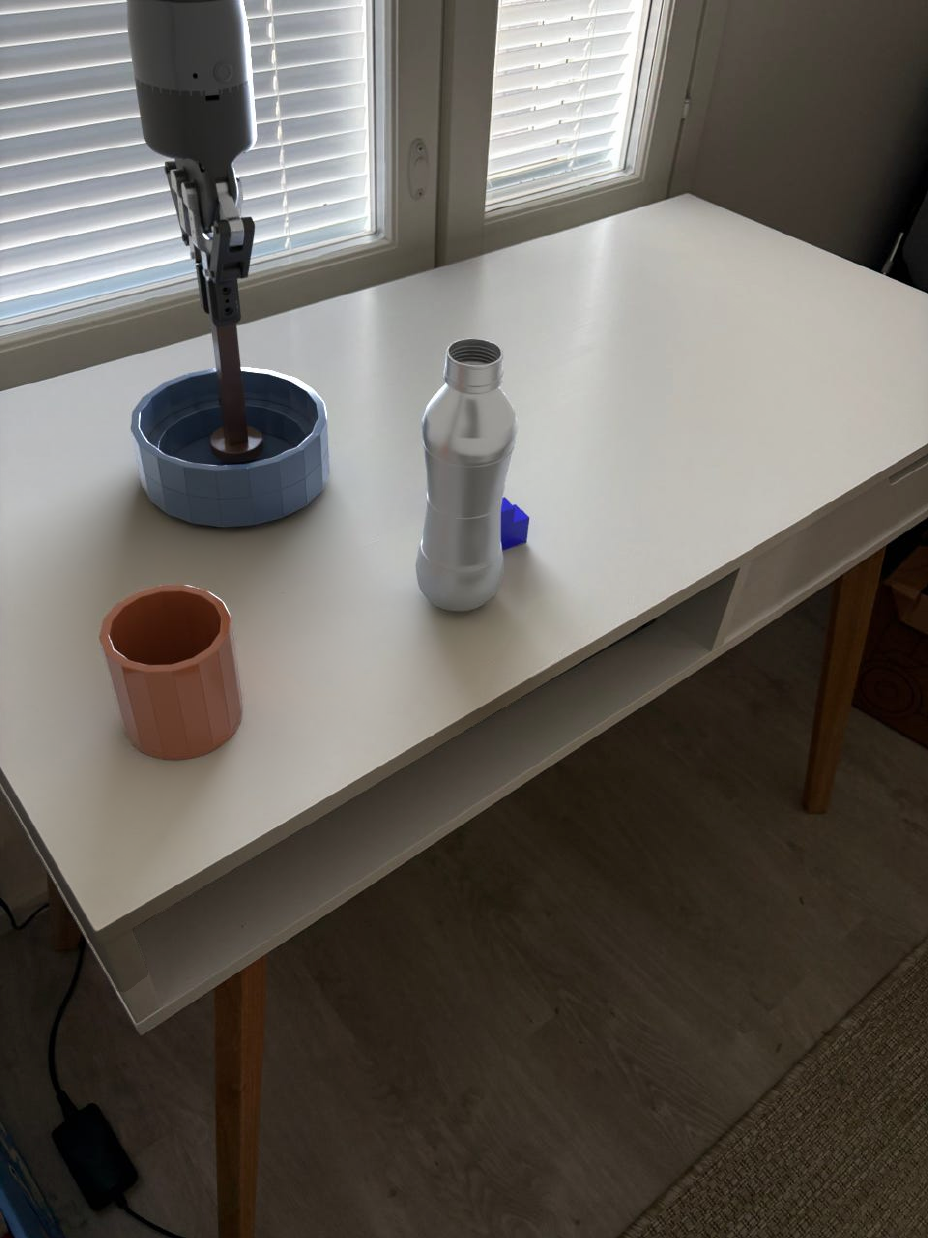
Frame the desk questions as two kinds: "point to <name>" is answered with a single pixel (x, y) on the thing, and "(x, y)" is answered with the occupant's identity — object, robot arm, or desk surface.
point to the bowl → (224, 491)
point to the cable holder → (513, 525)
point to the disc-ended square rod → (232, 402)
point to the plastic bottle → (466, 478)
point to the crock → (173, 670)
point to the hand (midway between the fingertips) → (221, 316)
